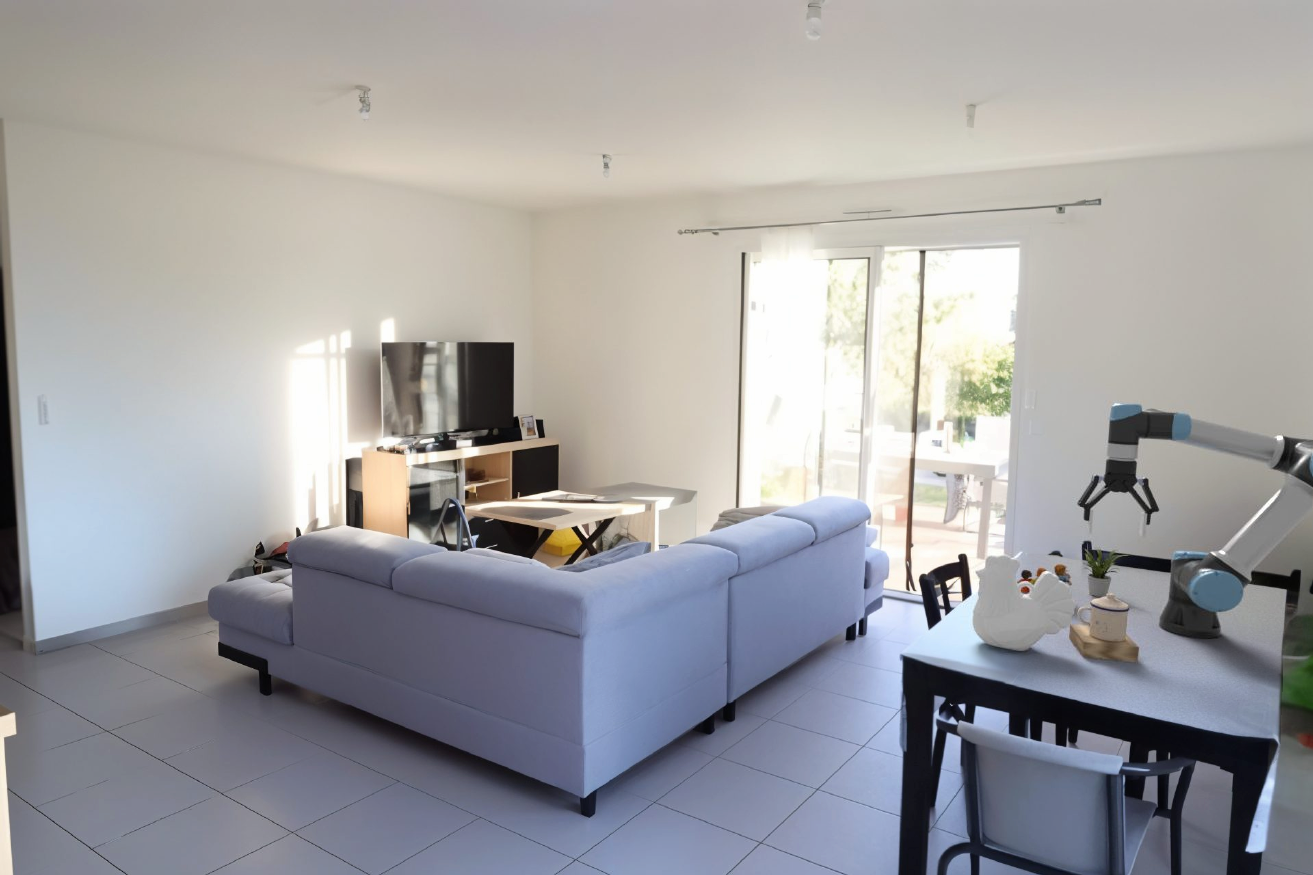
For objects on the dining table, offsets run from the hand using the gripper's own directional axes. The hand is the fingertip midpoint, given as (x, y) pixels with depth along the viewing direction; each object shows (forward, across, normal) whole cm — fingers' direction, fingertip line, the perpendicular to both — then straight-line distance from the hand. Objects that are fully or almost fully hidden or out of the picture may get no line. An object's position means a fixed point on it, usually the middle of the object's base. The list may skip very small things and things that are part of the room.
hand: (1115, 534), depth 239 cm
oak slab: (+29, +5, +15) cm, 33 cm away
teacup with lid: (+25, +6, +16) cm, 30 cm away
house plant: (+29, -10, -44) cm, 54 cm away
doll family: (+29, +10, -25) cm, 40 cm away
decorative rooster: (+29, +26, +21) cm, 45 cm away
